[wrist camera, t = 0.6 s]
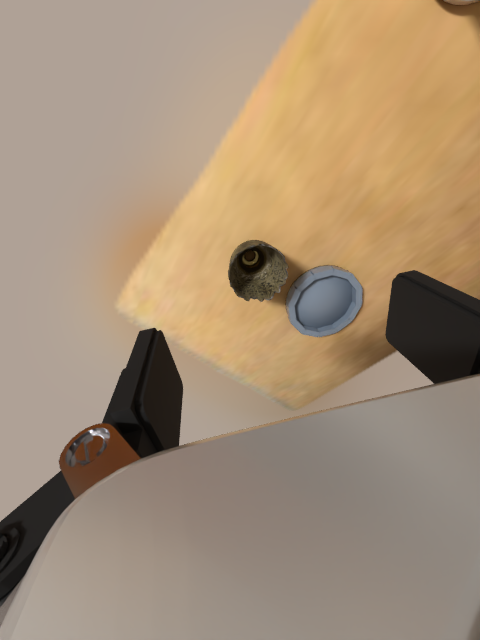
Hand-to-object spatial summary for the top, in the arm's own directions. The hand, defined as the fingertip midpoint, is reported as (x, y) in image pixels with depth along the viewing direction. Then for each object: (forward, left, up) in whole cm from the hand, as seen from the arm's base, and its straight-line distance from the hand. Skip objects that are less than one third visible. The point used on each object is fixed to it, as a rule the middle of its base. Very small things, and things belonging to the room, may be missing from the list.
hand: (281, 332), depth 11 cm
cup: (+5, +5, -30) cm, 30 cm away
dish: (+9, +19, -29) cm, 36 cm away
